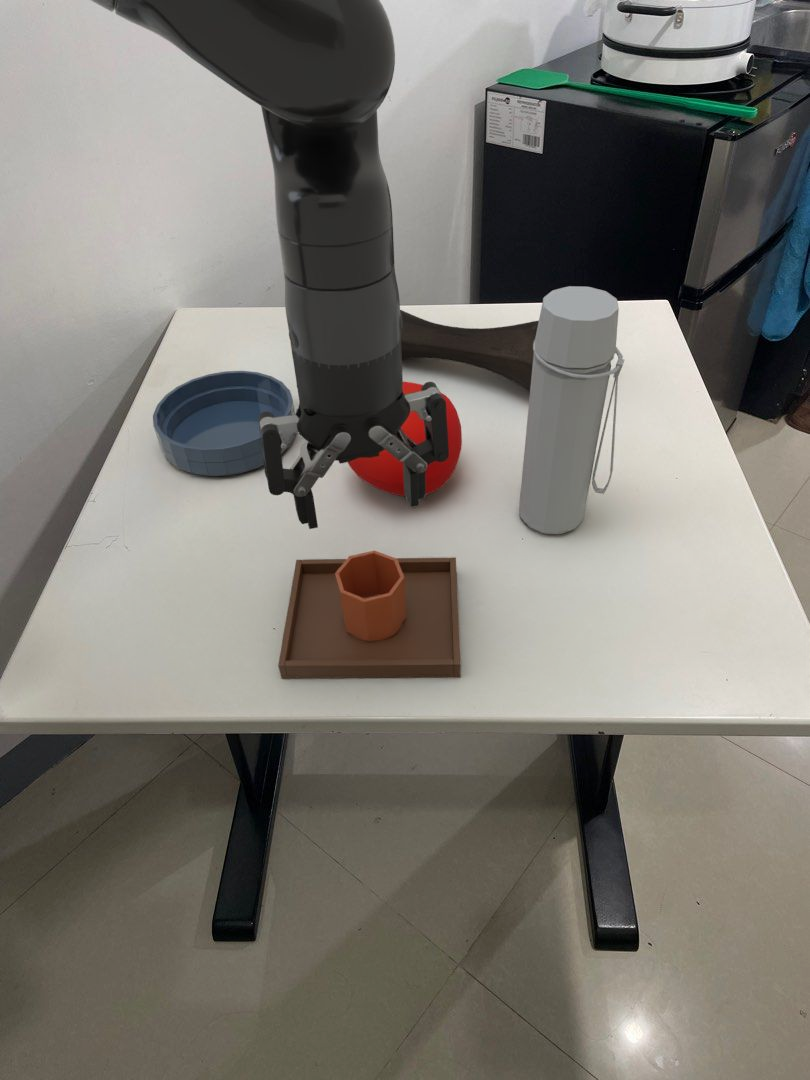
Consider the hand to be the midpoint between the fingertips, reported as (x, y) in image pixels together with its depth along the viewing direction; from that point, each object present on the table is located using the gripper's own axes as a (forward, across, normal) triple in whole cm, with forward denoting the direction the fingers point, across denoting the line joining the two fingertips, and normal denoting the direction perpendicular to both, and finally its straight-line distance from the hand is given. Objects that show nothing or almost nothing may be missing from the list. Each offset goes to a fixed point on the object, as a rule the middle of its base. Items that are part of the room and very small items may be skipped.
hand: (362, 511), depth 61 cm
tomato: (+14, -9, -20) cm, 26 cm away
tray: (+14, 0, 0) cm, 14 cm away
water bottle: (+14, -23, -8) cm, 29 cm away
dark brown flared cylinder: (+14, -24, -39) cm, 48 cm away
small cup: (+14, 0, 0) cm, 14 cm away
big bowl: (+14, +10, -35) cm, 39 cm away
